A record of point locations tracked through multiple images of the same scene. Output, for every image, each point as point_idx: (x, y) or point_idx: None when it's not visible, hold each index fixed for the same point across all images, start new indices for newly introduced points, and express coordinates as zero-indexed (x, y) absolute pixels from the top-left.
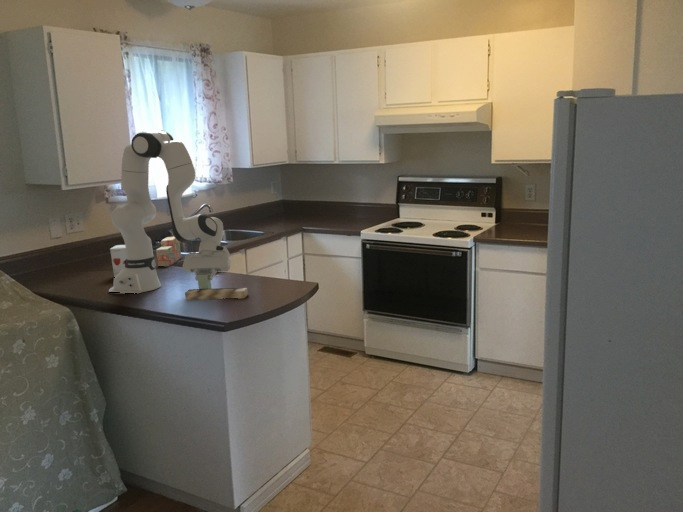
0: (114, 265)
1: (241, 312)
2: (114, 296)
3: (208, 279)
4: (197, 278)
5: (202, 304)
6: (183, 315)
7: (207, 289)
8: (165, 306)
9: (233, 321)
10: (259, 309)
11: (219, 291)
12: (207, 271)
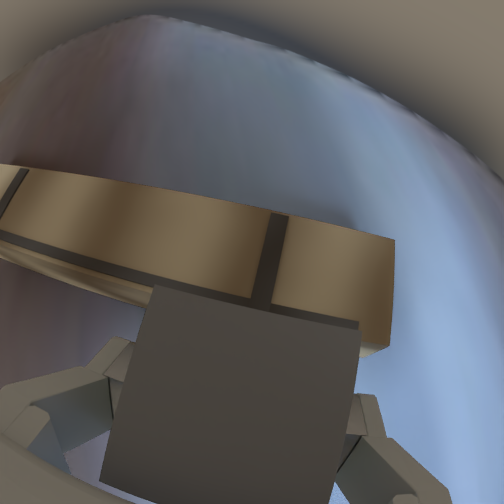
0: None
1: (85, 53)
2: None
3: None
4: None
5: (228, 139)
6: (291, 54)
7: (194, 282)
8: (435, 176)
9: (128, 17)
10: (32, 73)
11: (96, 186)
12: (137, 446)
